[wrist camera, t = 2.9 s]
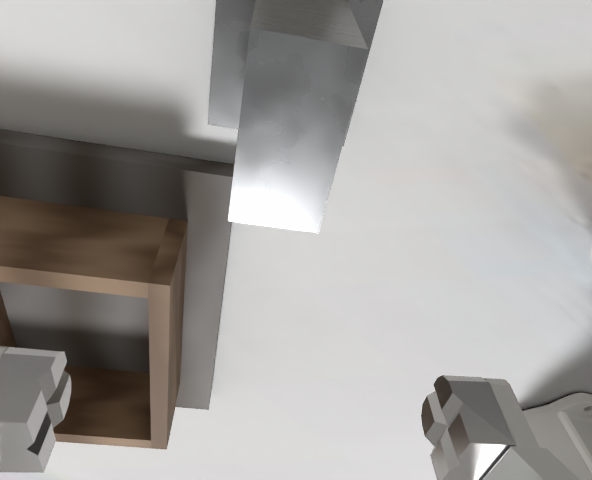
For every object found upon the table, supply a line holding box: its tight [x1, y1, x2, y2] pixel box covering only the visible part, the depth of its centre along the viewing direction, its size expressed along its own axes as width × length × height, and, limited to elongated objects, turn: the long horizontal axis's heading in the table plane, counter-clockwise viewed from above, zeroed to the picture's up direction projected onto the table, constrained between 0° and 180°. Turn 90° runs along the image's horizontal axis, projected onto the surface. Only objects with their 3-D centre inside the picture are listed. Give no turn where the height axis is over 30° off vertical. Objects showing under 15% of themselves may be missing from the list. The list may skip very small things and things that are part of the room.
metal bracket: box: [208, 0, 383, 233], centre depth 22 cm, size 8×8×10 cm
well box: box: [0, 130, 234, 449], centre depth 34 cm, size 20×26×8 cm
